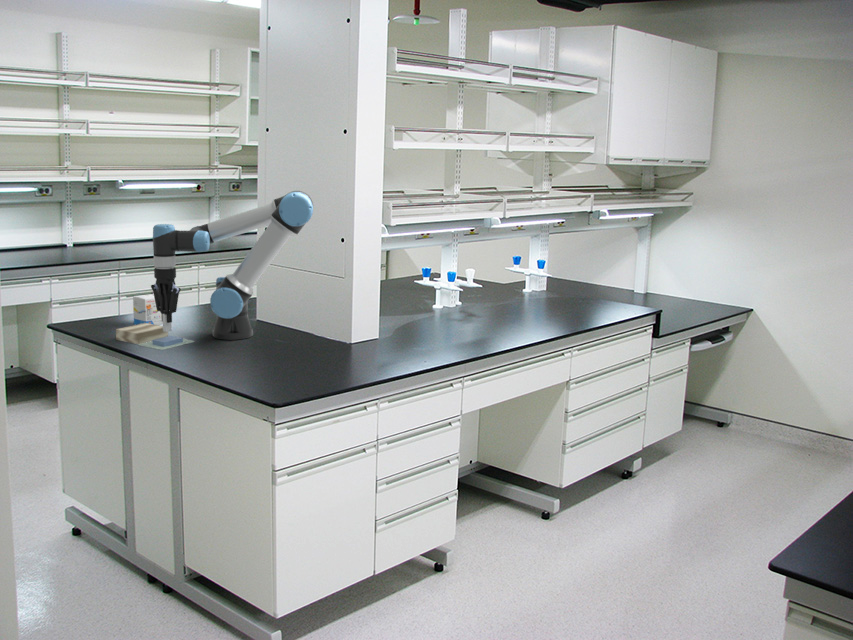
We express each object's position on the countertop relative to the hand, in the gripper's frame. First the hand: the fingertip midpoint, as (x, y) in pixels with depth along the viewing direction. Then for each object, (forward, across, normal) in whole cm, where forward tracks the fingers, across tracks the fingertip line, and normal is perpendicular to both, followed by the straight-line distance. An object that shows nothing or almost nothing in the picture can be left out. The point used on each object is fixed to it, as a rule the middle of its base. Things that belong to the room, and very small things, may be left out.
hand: (167, 330), depth 297 cm
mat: (+5, 0, 0) cm, 5 cm away
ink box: (+5, +30, -18) cm, 36 cm away
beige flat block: (+5, +14, 0) cm, 14 cm away
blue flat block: (+3, 0, 0) cm, 3 cm away
